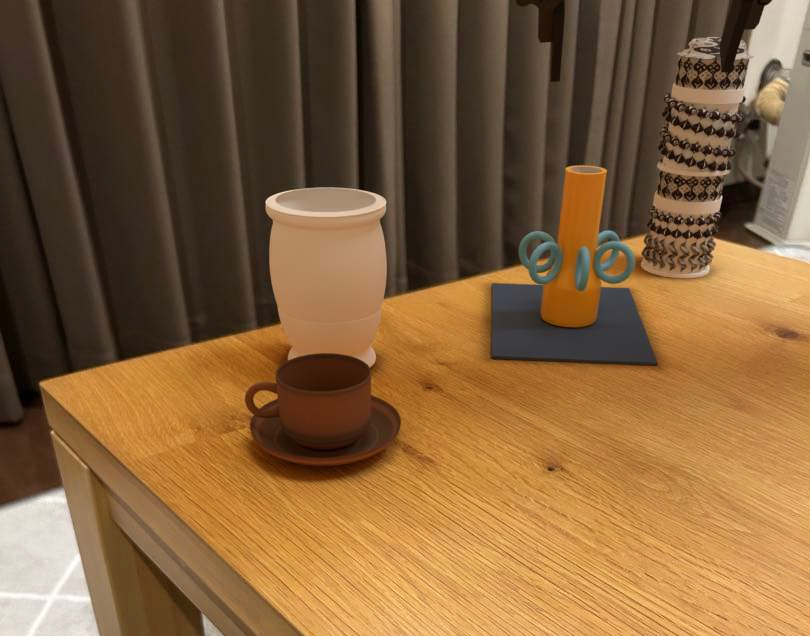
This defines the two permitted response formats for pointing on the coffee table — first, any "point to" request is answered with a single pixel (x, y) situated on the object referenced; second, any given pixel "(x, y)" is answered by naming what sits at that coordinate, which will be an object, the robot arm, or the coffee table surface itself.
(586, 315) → the cylinder
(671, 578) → the coffee table surface
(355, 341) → the jar
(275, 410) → the cup and saucer
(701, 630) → the coffee table surface
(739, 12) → the robot arm
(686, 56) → the decorative candle
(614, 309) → the dark grey flat rectangle
